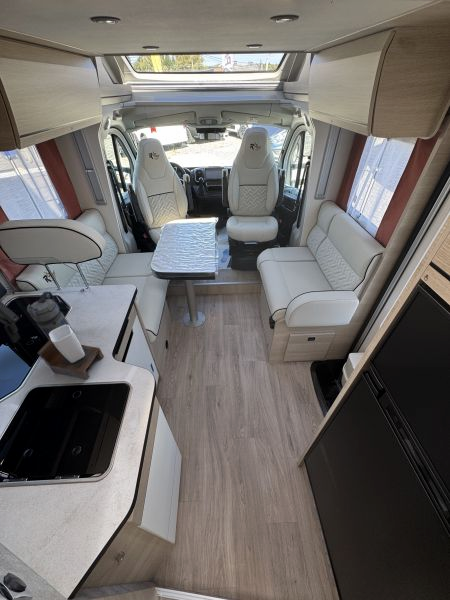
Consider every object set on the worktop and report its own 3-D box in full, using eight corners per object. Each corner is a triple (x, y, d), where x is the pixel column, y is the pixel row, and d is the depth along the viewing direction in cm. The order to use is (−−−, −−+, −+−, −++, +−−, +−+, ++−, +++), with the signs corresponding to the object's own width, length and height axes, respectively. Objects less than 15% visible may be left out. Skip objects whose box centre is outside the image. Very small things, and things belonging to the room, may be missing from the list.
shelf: (54, 373, 107) (37, 352, 98) (73, 350, 116) (58, 330, 106) (87, 379, 104) (72, 359, 95) (104, 356, 113) (92, 335, 103)
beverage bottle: (81, 327, 126) (58, 288, 110) (68, 348, 116) (40, 309, 100) (61, 327, 127) (35, 288, 110) (47, 348, 117) (15, 309, 100)
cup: (65, 355, 106) (47, 332, 96) (83, 346, 109) (67, 322, 99) (70, 367, 101) (52, 343, 92) (88, 356, 105) (73, 333, 95)
